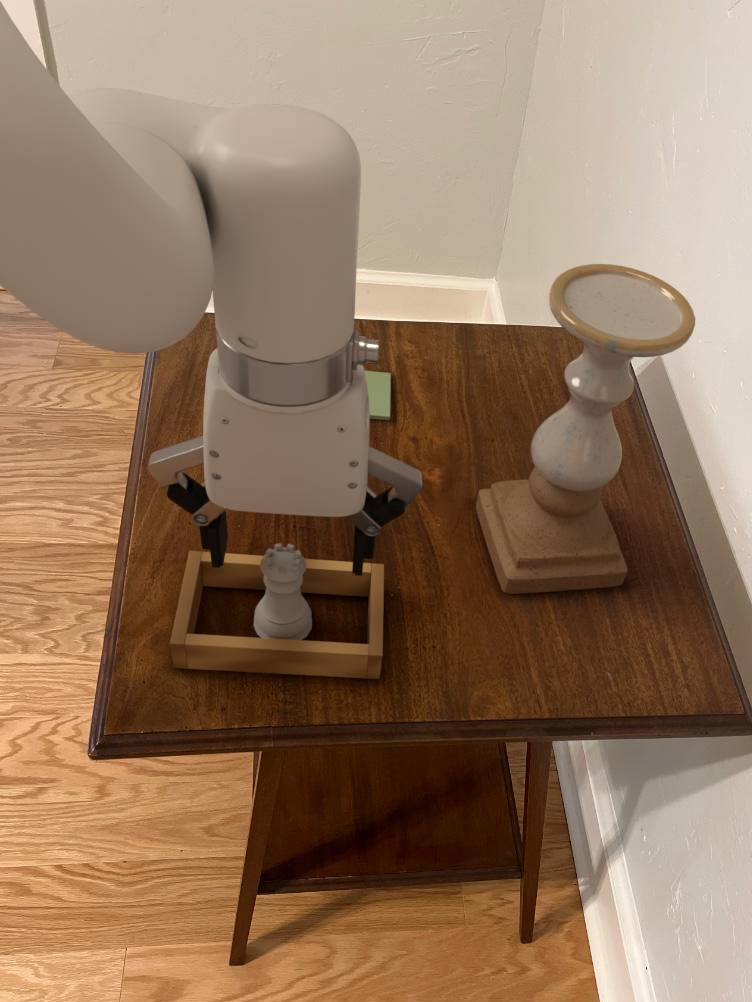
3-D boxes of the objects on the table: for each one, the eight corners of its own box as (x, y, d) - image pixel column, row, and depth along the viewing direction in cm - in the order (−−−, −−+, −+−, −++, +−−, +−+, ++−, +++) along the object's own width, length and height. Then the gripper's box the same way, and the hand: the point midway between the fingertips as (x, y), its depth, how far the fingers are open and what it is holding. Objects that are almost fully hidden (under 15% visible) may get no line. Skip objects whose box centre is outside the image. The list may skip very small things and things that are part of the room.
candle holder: (624, 586, 78) (727, 349, 60) (502, 595, 75) (571, 350, 57) (586, 497, 85) (668, 260, 67) (473, 502, 82) (526, 257, 64)
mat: (242, 407, 86) (242, 403, 86) (250, 363, 90) (250, 359, 90) (389, 420, 88) (390, 416, 87) (390, 376, 92) (391, 372, 92)
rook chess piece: (250, 606, 71) (247, 535, 65) (308, 601, 72) (310, 530, 66) (256, 652, 68) (254, 582, 62) (316, 646, 69) (319, 576, 63)
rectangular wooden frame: (173, 668, 66) (169, 643, 64) (191, 576, 72) (189, 550, 70) (379, 679, 68) (382, 655, 66) (381, 588, 74) (384, 563, 72)
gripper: (436, 327, 55) (411, 526, 68) (140, 301, 53) (172, 511, 66) (439, 405, 50) (411, 604, 63) (113, 380, 48) (154, 590, 61)
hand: (289, 556), depth 64 cm, fingers open, 9 cm apart
